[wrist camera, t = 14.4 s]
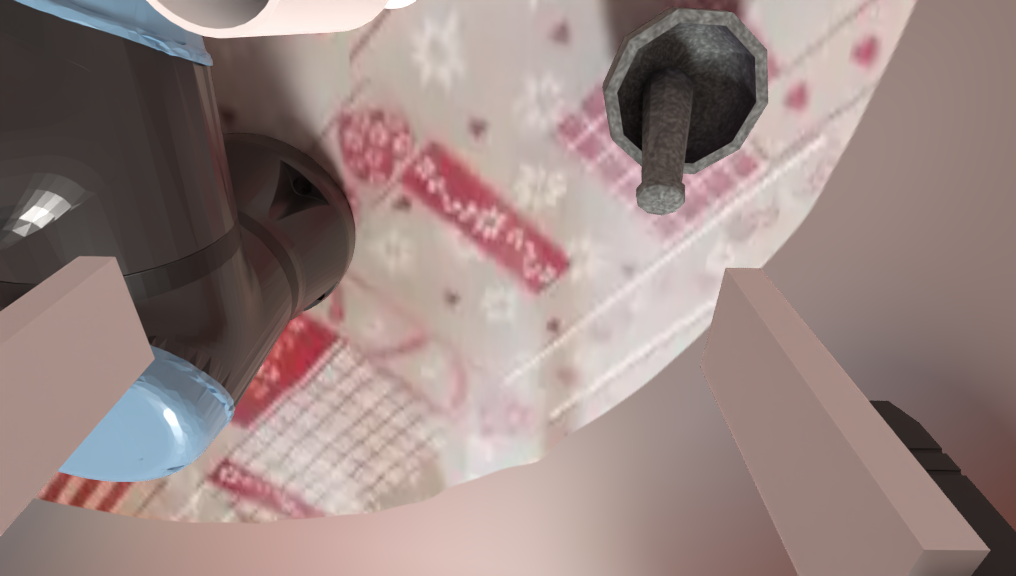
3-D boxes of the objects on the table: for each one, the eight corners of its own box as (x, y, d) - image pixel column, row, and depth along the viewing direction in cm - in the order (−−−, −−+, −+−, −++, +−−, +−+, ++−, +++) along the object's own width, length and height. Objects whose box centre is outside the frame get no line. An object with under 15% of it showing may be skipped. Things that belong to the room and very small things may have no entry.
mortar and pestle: (636, -26, 36) (682, -20, 26) (759, 32, 37) (849, 60, 27) (564, 134, 41) (578, 193, 31) (674, 179, 43) (722, 249, 33)
